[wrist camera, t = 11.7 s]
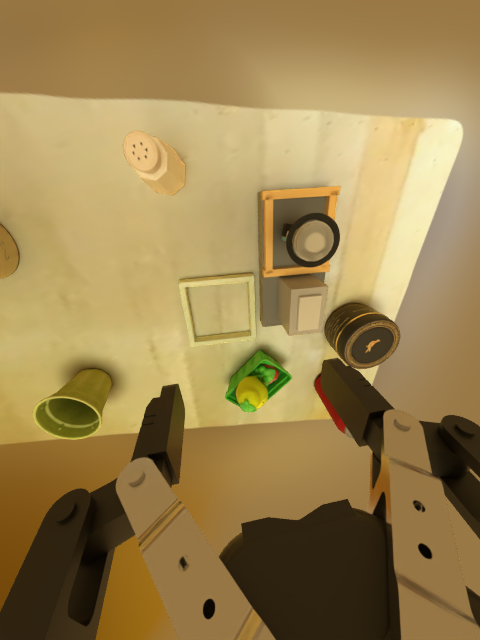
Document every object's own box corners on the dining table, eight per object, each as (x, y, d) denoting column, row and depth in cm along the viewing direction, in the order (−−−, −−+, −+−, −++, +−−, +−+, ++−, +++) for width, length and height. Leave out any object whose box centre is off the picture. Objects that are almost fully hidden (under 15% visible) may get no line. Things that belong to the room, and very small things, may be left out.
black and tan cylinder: (333, 218, 29) (365, 219, 20) (321, 258, 32) (345, 275, 23) (284, 211, 29) (294, 208, 20) (276, 251, 32) (282, 265, 23)
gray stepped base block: (260, 321, 39) (272, 349, 31) (257, 192, 30) (274, 186, 22) (313, 315, 40) (338, 341, 32) (326, 188, 31) (367, 181, 23)
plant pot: (57, 384, 40) (21, 425, 33) (81, 351, 38) (49, 387, 30) (105, 405, 44) (83, 446, 36) (131, 376, 42) (113, 414, 34)
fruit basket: (249, 394, 48) (259, 443, 38) (217, 377, 44) (218, 426, 34) (285, 360, 44) (307, 404, 34) (253, 338, 41) (267, 380, 31)
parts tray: (191, 341, 40) (190, 346, 38) (179, 279, 34) (178, 283, 33) (254, 334, 41) (255, 339, 39) (252, 273, 35) (254, 276, 34)
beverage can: (318, 395, 50) (346, 445, 40) (309, 376, 47) (337, 425, 37) (345, 383, 50) (382, 431, 39) (338, 363, 46) (375, 409, 36)
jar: (314, 343, 43) (333, 368, 37) (332, 296, 39) (358, 315, 32) (358, 347, 45) (384, 372, 38) (380, 303, 41) (413, 322, 34)
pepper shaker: (178, 140, 27) (158, 100, 17) (192, 190, 29) (182, 181, 19) (135, 151, 27) (91, 117, 17) (153, 200, 29) (124, 196, 19)
